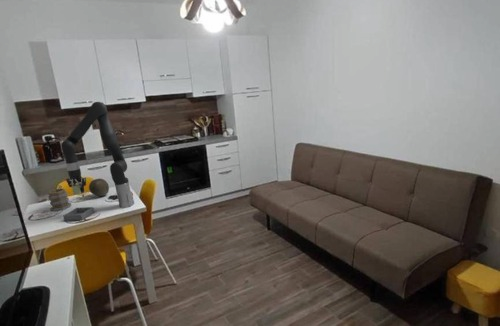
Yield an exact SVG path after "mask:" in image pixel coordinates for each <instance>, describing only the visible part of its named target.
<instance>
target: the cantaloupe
mask: <svg viewBox="0 0 500 326" xmlns="http://www.w3.org/2000/svg"><path fill="white" fill-rule="evenodd" d="M88 190H89V192H90V194H92V195H93V196H96V197H104V196H106V195H107V194H108V193H109V192H110V187H109V183H108V182H107V180H105V179H103V178H95V179H92V180H91V181H90V182H89V184H88Z"/></svg>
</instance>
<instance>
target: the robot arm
mask: <svg viewBox="0 0 500 326" xmlns="http://www.w3.org/2000/svg"><path fill="white" fill-rule="evenodd" d="M96 120H97V122H98V125H99V126H98V127H99V133H100V137H101V140H102V143H103V145H104V147H105V148H106V149H107V151H108V152H109V153H110V155H111V156H112V159H113V162H112V163H111V164H110V167H109V171H110V175H111V179H112V181H113V183H114V186H115V191H116V195H117V196H116V197H117V201H118V205H119V208H121V209H124V208H125V209H126V208H130V207H132V206H133V205H134V204H135V200H134V196H133V191H131V187H130V186H131V185H130V183H129V178H128V177H127V176H126V175H125V173H126V171H127V170H128V164H127V161H126V159H125V157H124V154H123V153H122V150H121V146H120V144H119V141H118V137H117V135H116V132H115V130H114V129H115V128H114V127H113V124H112V122H111V121H110V116H109V113H108V108H107V105H106V104H105V103H104V102H101V101H95V102H93V103H92V104H91V106H90V107H89V109H88V111H87V113H86V114H85V116H84V117H83V118H82V119H81V121H80V122H78V124H77V125H76V126H75V127H74V129H73V130H72V131H71V132H70V134H69V135H68V136H67V138H66V139H65V140H63V141H62V142H61V145H60V147H61V150H62V154H63V156H64V159H65V165H66V169H67V173H68V178H66V179H65V181H66V183H67V185H68V187H69V188H72V186H74V185H76V184H78V185H79V186H80V190H81V193H82V194H83V192H84V189H85V187H86V186H87V178H86V177H83V176H82V171H81V167H80V163H79V160H78V156H77V153H76V152H75V151H76V150H75V147H76V146H77V144H78V143H79V141H80V140H81V139H82V138H83V137H85V135H86V134H87V132H88V131H89V129H90V128H91V126H92V125H93V124H94V122H96ZM81 185H82V186H81ZM84 193H85V192H84Z"/></svg>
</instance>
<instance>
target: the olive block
mask: <svg viewBox="0 0 500 326" xmlns="http://www.w3.org/2000/svg"><path fill="white" fill-rule="evenodd" d="M81 186H82V185H81ZM71 189H72V193H73V196H75V195H77V196H78V195H82V194H83V193H86V190H85V188H84V192H83V193H81V190H80V186H79V185H78V184H77V183H76V185H74V186H72V187H71Z"/></svg>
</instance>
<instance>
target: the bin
mask: <svg viewBox="0 0 500 326" xmlns="http://www.w3.org/2000/svg"><path fill="white" fill-rule="evenodd" d="M93 214H95V209H94V206H90V207H89V206H88V207H76V208H74V209H72V210H70V211H68V212H67V213H65V214H64V215H62V216H63V221H64V222H72V221H73V222H75V221H77V222H78V221H79V222H80V221H83V220H85V219H87V218H89V217H90V216H92V215H93Z"/></svg>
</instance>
